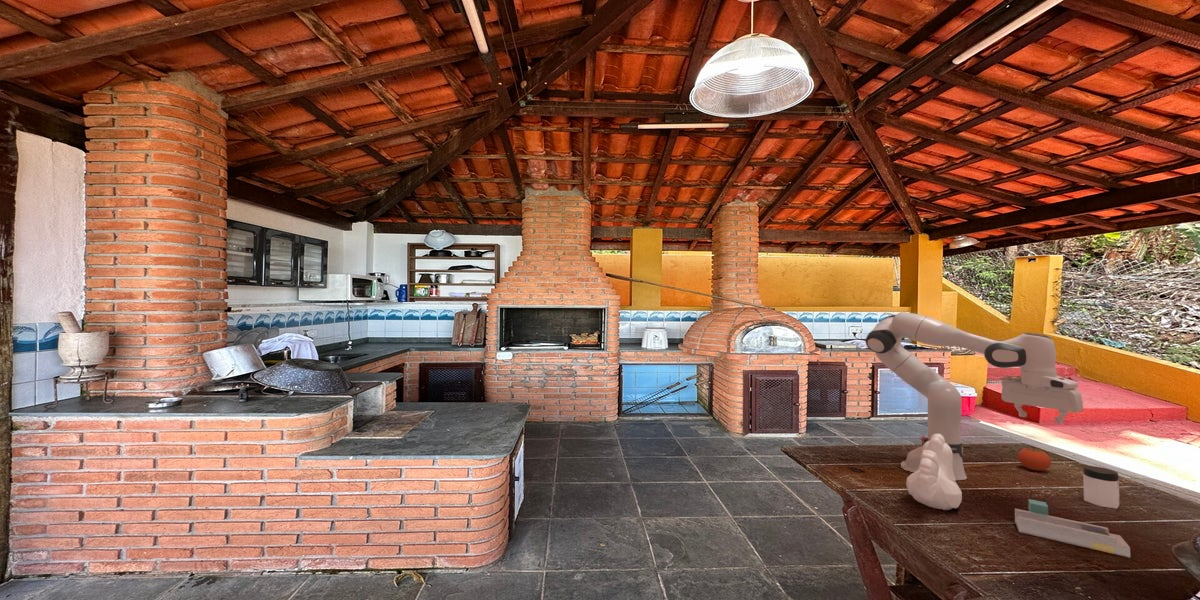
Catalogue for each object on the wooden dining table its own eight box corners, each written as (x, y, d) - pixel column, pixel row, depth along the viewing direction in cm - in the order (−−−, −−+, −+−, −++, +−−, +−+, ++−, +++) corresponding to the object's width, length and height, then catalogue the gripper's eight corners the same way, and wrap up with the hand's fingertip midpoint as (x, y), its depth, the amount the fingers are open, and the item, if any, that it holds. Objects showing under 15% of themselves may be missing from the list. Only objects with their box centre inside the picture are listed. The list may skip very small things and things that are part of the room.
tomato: (1017, 469, 185) (1016, 446, 186) (1018, 464, 192) (1018, 441, 193) (1051, 476, 178) (1050, 452, 178) (1051, 470, 185) (1050, 447, 185)
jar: (1117, 511, 147) (1116, 476, 147) (1082, 502, 154) (1081, 468, 154) (1121, 504, 152) (1120, 470, 152) (1087, 496, 159) (1086, 464, 159)
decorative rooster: (921, 490, 163) (920, 426, 164) (972, 507, 149) (971, 436, 150) (886, 504, 151) (884, 435, 152) (938, 524, 137) (936, 447, 138)
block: (1030, 522, 136) (1030, 503, 137) (1028, 517, 140) (1028, 499, 140) (1048, 525, 134) (1048, 506, 134) (1046, 521, 137) (1045, 502, 137)
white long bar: (1019, 535, 130) (1018, 517, 130) (1015, 525, 137) (1014, 508, 137) (1130, 562, 117) (1129, 542, 117) (1120, 549, 123) (1119, 530, 123)
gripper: (996, 376, 156) (998, 414, 155) (1074, 384, 137) (1076, 427, 136) (1006, 375, 158) (1008, 412, 158) (1084, 383, 139) (1086, 425, 139)
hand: (1040, 419), depth 147 cm, fingers open, 8 cm apart
